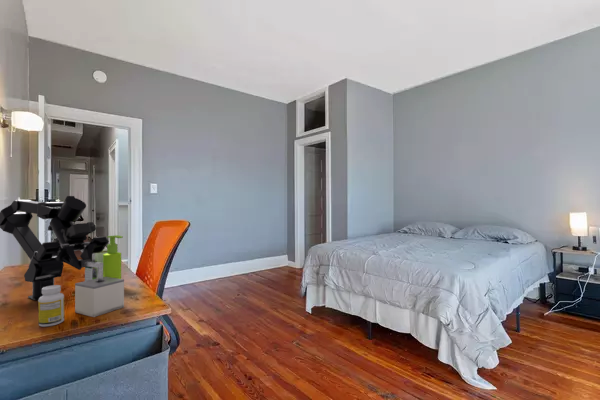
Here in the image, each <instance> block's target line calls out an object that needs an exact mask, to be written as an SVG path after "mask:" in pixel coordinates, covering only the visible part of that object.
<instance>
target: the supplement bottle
mask: <svg viewBox="0 0 600 400" xmlns="http://www.w3.org/2000/svg"><path fill="white" fill-rule="evenodd" d="M61 288H62V285H59V284H54V285H52V286H47V287H43V288H42V294H43V296H41V297H40V298H39V300H37V302H38V304H37V305H38V326H40V327H43V328H45V327H53V326H56V325H59V324H61V323H63V322H64V321H65V294H64V293H62V292H61V290H62V289H61Z"/></svg>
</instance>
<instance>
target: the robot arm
mask: <svg viewBox="0 0 600 400" xmlns="http://www.w3.org/2000/svg"><path fill="white" fill-rule="evenodd" d="M86 208H87V204H86V202H84V201H83V200H81V199H79V198H76V197H75V195H67V196H66V197H65V199H64V201H50V202H49V201H42V202H40V201H36V200H35V201H34V200H31V199H16V200H13V201H12V203H11V204H10V205H8V206H6V207H4V208H3V209H1V210H0V229H1V230H2V231H3V232H5V233H8V234H11V235H12V236H13V237H14V238H15V240H16V241H17V243H18V245H19V246H20V247H21V248H22V250H23V251H24V253H25V255H26V256H27V257H28V258H29V260H30V262H29V264H28V268H27V270H26V271H25V273H24V275H23V277H24V281H25V282H28V283H32V295H28V297H27V298H28V299H31V300H33V301H38V300H39V298H40V297H41V296H43V294H42V288H43V287H47V286H52V285H55V278H60V277H62V274H63V269H64V267H65V264H67V265H69V266H71V267H73V268H74V269H77V270H78V271H79V270H82V269H83V268H82V267H81V264H80V262H79V260H78V257H77V255H76V253H75V252H76V251H80V252H81V254H80V259H85V258H86V259H91V261H92V254H93V253H100V252H102V251H103V249H106V247H107V245H108V244H109V243H110V240H108V239H109V238H107V237H106V236H97V237H96V236H95V237H93V238H92V239H91V240H90V241H86V240H87V239H88V235H89V234H92V233H94V232H95V231H96V230H97V227H96V225H95V223H94V222H93V221H89V222H88V221H87V222H85V223H74V222H77V221H78V220H79V219H80V217H81V215H83V212H84V211H85V209H86ZM33 214H35V215H36V217H38V218H40V219H42V220H50V222H49V225H48V227H47V231H52V232H53V233H54V235H55V241H48V242H45V241H44V242H42V243H41V242H40V240H39V239H38V237H37V236H36V235H35V233H34V232H33V231H32V229H31V228H30V226H29V225H30V222H31V220H32V219H33ZM89 268H91V267H89Z"/></svg>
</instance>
